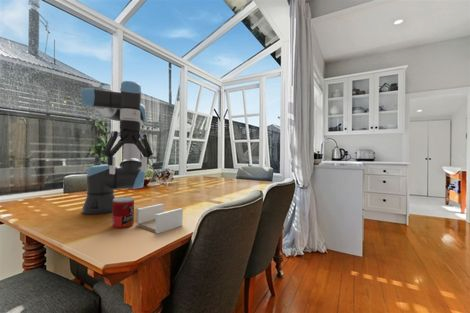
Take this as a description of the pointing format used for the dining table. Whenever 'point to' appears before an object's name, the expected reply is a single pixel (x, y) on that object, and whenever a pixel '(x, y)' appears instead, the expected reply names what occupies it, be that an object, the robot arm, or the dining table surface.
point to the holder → (158, 218)
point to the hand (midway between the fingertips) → (129, 173)
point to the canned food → (123, 212)
